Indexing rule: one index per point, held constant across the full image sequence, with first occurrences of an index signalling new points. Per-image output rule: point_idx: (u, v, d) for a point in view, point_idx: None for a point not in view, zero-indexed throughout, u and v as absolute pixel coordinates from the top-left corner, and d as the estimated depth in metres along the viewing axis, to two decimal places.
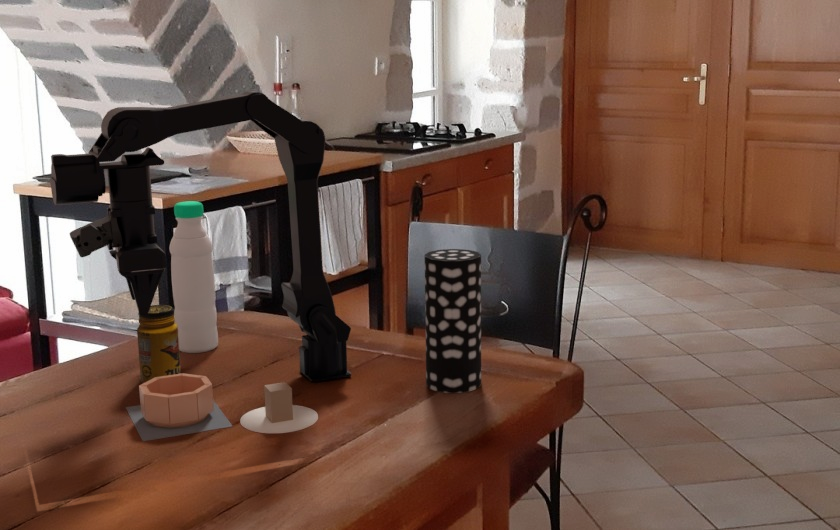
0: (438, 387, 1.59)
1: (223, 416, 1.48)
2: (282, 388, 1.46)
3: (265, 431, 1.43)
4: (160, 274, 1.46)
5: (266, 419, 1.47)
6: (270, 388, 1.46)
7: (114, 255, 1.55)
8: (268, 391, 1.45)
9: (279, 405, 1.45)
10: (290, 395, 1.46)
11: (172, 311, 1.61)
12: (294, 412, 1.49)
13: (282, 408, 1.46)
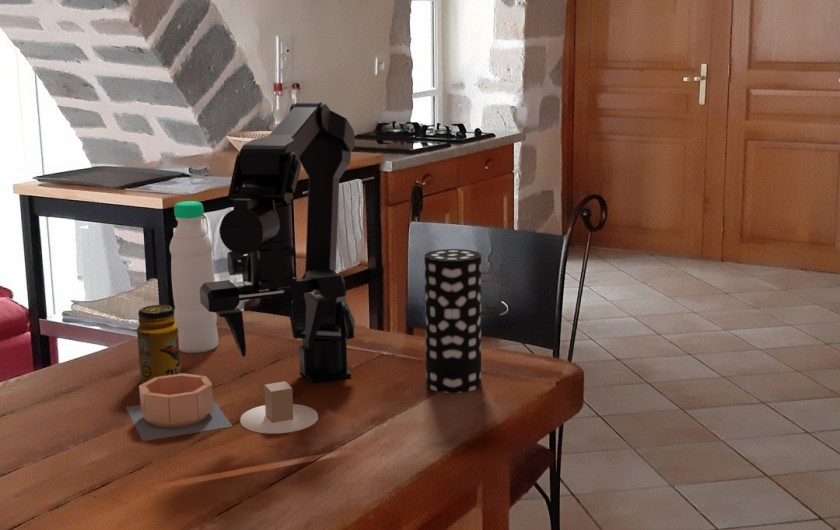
0: (438, 387, 1.59)
1: (223, 416, 1.48)
2: (283, 388, 1.46)
3: (266, 431, 1.42)
4: (229, 319, 1.39)
5: (266, 418, 1.47)
6: (270, 388, 1.45)
7: (304, 294, 1.48)
8: (269, 391, 1.45)
9: (279, 405, 1.45)
10: (291, 395, 1.46)
11: (172, 311, 1.61)
12: (294, 411, 1.49)
13: (283, 407, 1.46)
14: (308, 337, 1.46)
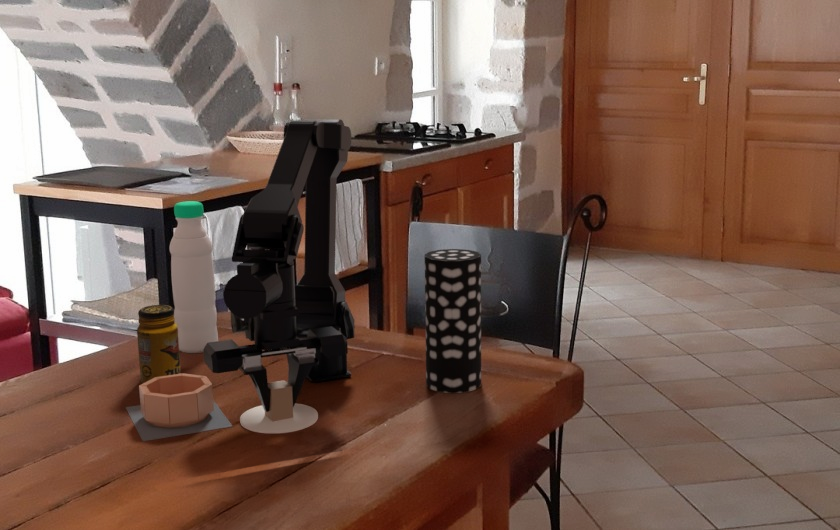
0: (438, 387, 1.59)
1: (223, 416, 1.48)
2: (282, 386, 1.46)
3: (268, 429, 1.42)
4: (253, 376, 1.42)
5: (266, 417, 1.47)
6: (270, 387, 1.45)
7: (287, 354, 1.49)
8: (268, 389, 1.45)
9: (280, 403, 1.45)
10: (290, 393, 1.46)
11: (172, 311, 1.61)
12: (293, 410, 1.49)
13: (283, 405, 1.46)
14: None
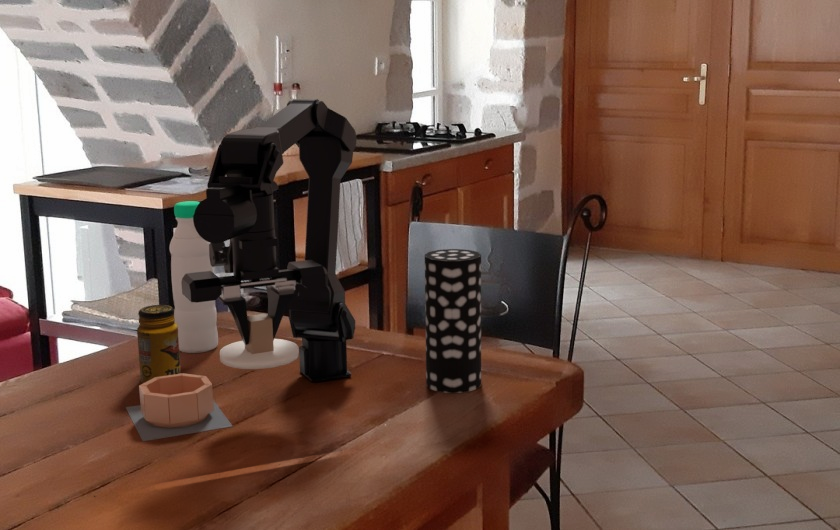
0: (438, 387, 1.59)
1: (223, 416, 1.48)
2: (262, 318, 1.44)
3: (247, 361, 1.40)
4: None
5: (246, 351, 1.45)
6: (250, 319, 1.43)
7: (266, 288, 1.47)
8: (248, 322, 1.43)
9: (260, 336, 1.43)
10: (271, 325, 1.44)
11: (172, 311, 1.61)
12: (273, 344, 1.47)
13: (263, 338, 1.44)
14: None
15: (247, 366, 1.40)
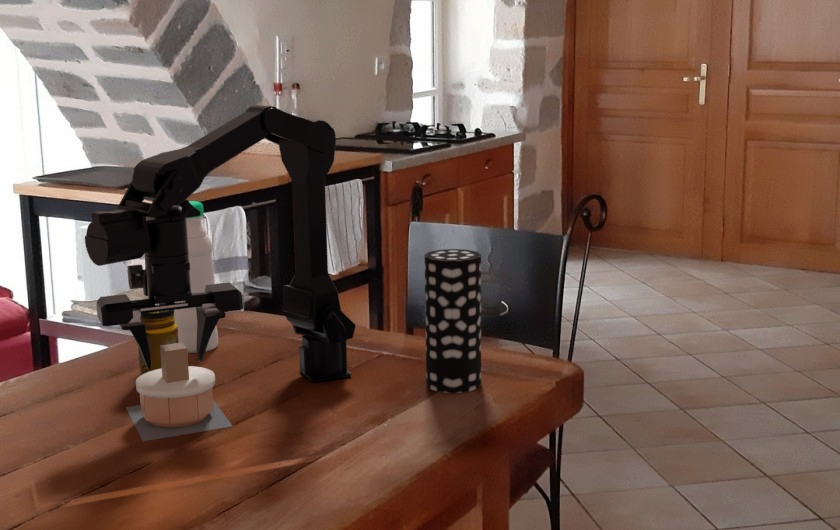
0: (438, 387, 1.59)
1: (223, 416, 1.48)
2: (177, 348, 1.46)
3: (159, 390, 1.43)
4: (132, 332, 1.41)
5: (162, 379, 1.47)
6: (165, 348, 1.46)
7: (196, 309, 1.49)
8: (163, 351, 1.45)
9: (174, 365, 1.45)
10: (186, 355, 1.46)
11: (172, 311, 1.61)
12: (191, 373, 1.49)
13: (178, 367, 1.46)
14: (198, 351, 1.47)
15: (159, 396, 1.42)
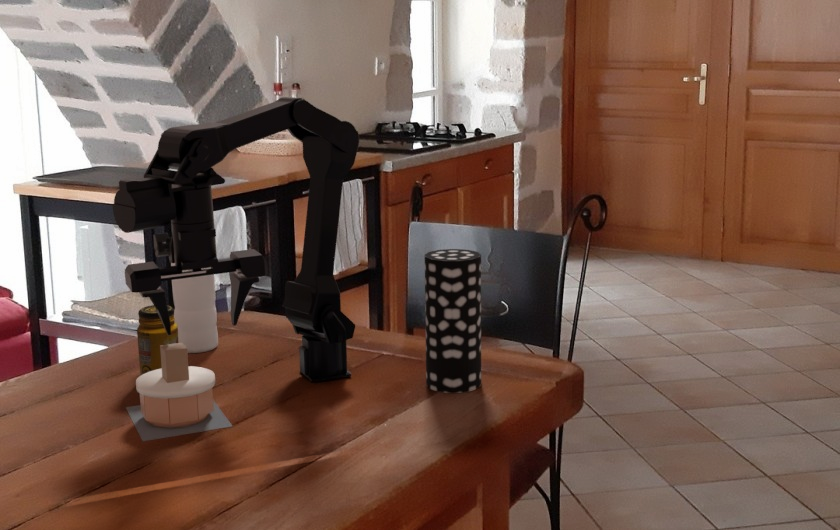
0: (438, 387, 1.59)
1: (223, 416, 1.48)
2: (177, 348, 1.46)
3: (159, 390, 1.43)
4: (152, 299, 1.44)
5: (162, 379, 1.47)
6: (165, 348, 1.46)
7: (229, 274, 1.52)
8: (163, 351, 1.45)
9: (174, 365, 1.45)
10: (186, 355, 1.46)
11: (172, 311, 1.61)
12: (191, 373, 1.49)
13: (178, 367, 1.46)
14: (233, 315, 1.51)
15: (159, 396, 1.42)
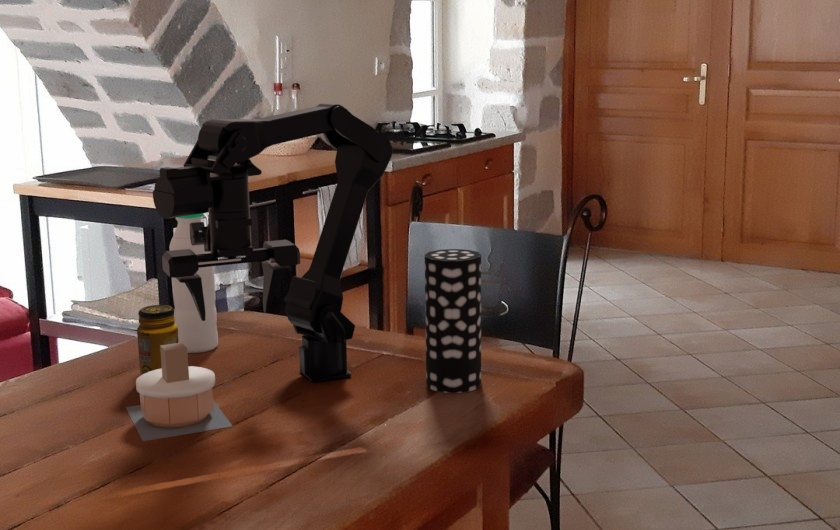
0: (438, 387, 1.59)
1: (223, 416, 1.48)
2: (177, 348, 1.46)
3: (159, 390, 1.43)
4: (188, 284, 1.48)
5: (162, 379, 1.47)
6: (165, 348, 1.46)
7: (262, 263, 1.57)
8: (163, 351, 1.45)
9: (174, 365, 1.45)
10: (186, 355, 1.46)
11: (172, 311, 1.61)
12: (191, 373, 1.49)
13: (178, 367, 1.46)
14: (265, 303, 1.55)
15: (159, 396, 1.42)
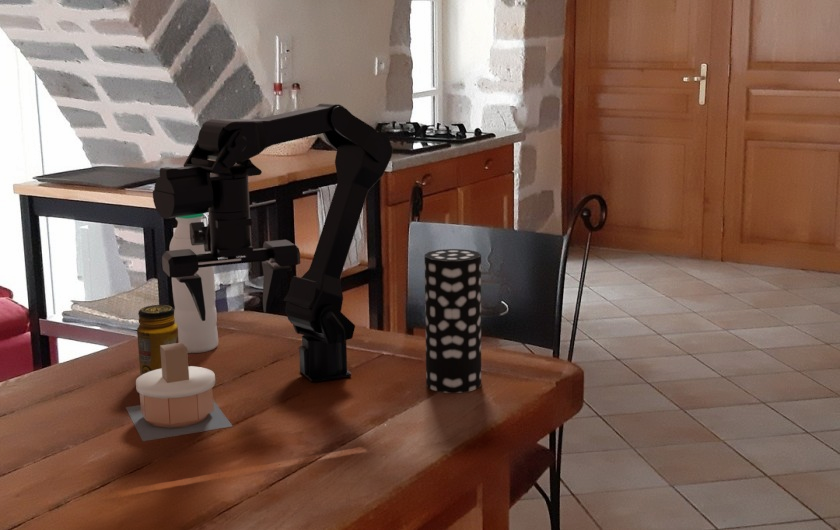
0: (438, 387, 1.59)
1: (223, 416, 1.48)
2: (177, 348, 1.46)
3: (159, 390, 1.43)
4: (188, 284, 1.48)
5: (162, 379, 1.47)
6: (165, 348, 1.46)
7: (262, 263, 1.57)
8: (163, 351, 1.45)
9: (174, 365, 1.45)
10: (186, 355, 1.46)
11: (172, 311, 1.61)
12: (191, 373, 1.49)
13: (178, 367, 1.46)
14: (265, 303, 1.55)
15: (159, 396, 1.42)
